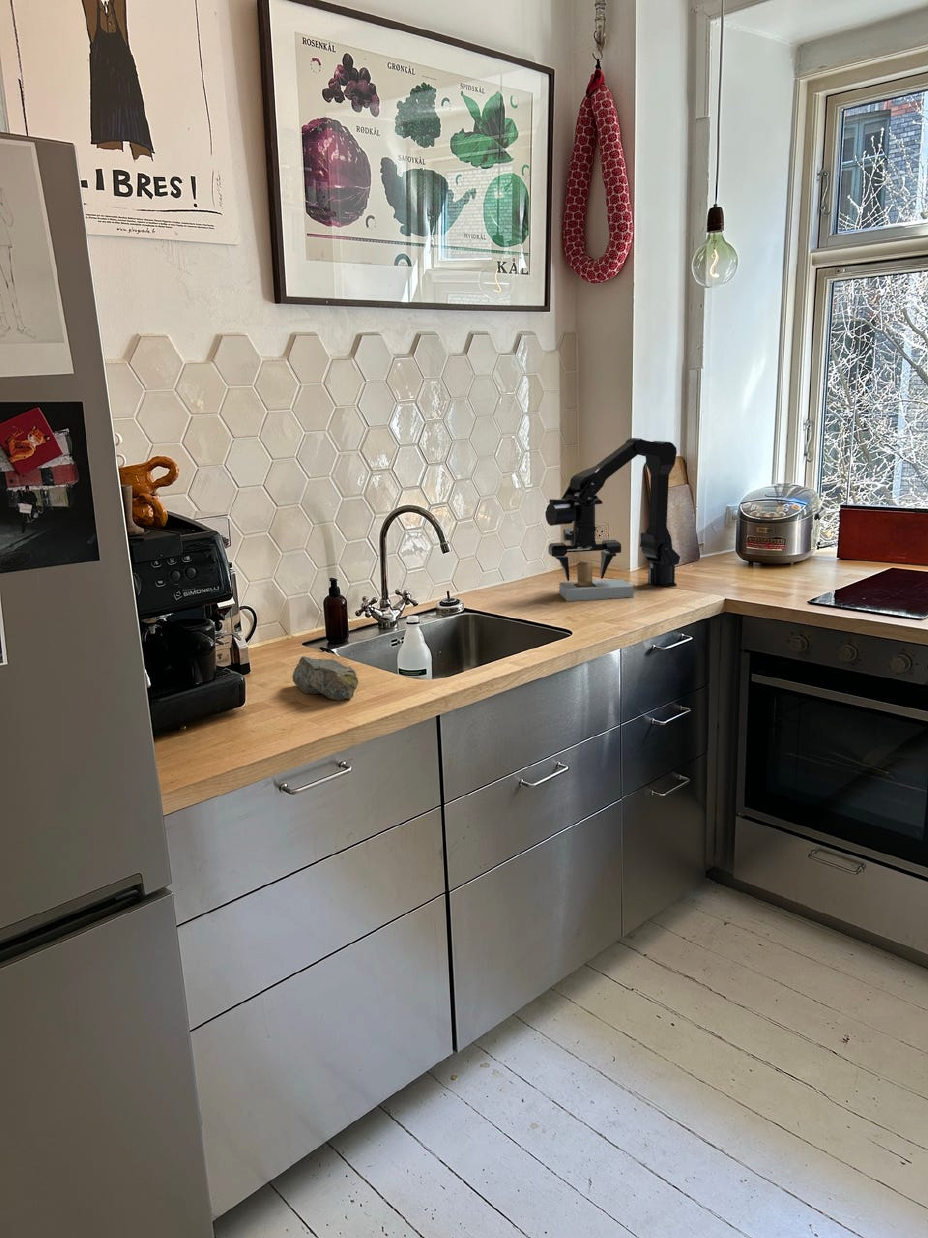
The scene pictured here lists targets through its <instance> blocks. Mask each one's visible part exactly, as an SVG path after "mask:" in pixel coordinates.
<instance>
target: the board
mask: <svg viewBox="0 0 928 1238" xmlns="http://www.w3.org/2000/svg"><path fill="white" fill-rule="evenodd" d="M577 584H578V581H566V582H565V581H563V582H559V585H558V586H559V587H558V588H559V590H558V591H559V593H558V594H560V596H561V597H562V598H563V599H564V600H565V601H566V602H577V601H579V602H580V601H593V600H594V601H595V600H609V598H613V599H626V598H625V597H629V598H634V585H632V584H631V583H630V582H628V580H626V579H624V578H614V579H598V580H597V579H595V580H592V584H593V586H592V587H581V588H578V586H577Z"/></svg>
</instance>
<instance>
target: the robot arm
mask: <svg viewBox="0 0 928 1238" xmlns="http://www.w3.org/2000/svg"><path fill="white" fill-rule="evenodd" d="M677 451H678V450H677V446H675V444H674V443H673V442H671V441H664V440H663V441H662V440H652V441H651V440H650V441H649V440H646V439H643V438H640V437H639V438H638V437H630V438H628V439H627V440H626V441H625V443H623V444H622V445H620V446H619V447H617V449H615V450H613V452H612V453H610V454H609V455H608V456H606V457H605V458H604V459H602V460H601V461H600V462H598V463H597V464H595V465H594V466H593V467H591V468H587V469H584V470H582V471H579V472H578V473H576V474H574V475H573V476H572V477H571V478H570V482H569V485H568V487H567V489H566V490H565V492H564V494H563V495H562V497H561V498H559V499H557V498H556V499H555V498H553V499H551V498H550V499H549V501H548V502H549V504H548V505H547V507H546V511H545V520H546V522H547V525H549V526H550V527H552V526H554V527H555V526H562V525H563V526H564V525H570V524H572V523H573V525H572V529H571V528H563V530H562V534H563V542H550V543H549V544H548V550H547V551H548V555H550V556H551V557H553V558H554V559H556V560H558V561H559V563H560V564H561V567H562V570H563V572H564V576H565V578H566V580H567V581H566V582H570V568H569V566H570V565H569V557H568V556H567V554H568V553H578V552H579V553H581V552H582V553H583V552H597V551H600V556H601V557H600V558H601V559H600V560H601V561H600V569H599V570H600V571H599V573H600V575H599V576H600V577H599V578H600V580H604V577H605V574H606V572H607V569H608V566H609V565H610V563H611V561H612V559H613V557H617V554H620V553H622V543H620V542H619V541H618V540H616V539H604V540H602V541H601V543H596V531H597V528H596V505H602V504H603V501H602V500H601V499H600V498H599V497H598V495H597V494H598V493H599V492H600V491H601V489H602V488H604V485H605V483H606V481H607V480H608V479H609V478H610V477H611V476H613V475H614V474H615V473H616V472H617V471H619V470H621V468H623V467H624V466H626V465H627V464H628V463H629V462H631V460H633V459H635V458H636V457H637V456H638V455H639V456H643V457H645V463H646V467H647V469H648V471H649V475H650V479H649V481H650V483H649V485H650V488H649V504H648V505H649V512H648V526H647V529H646V530H645V532H640V543H639V547H640V549H641V552H642V554H643V555H644V556H645V559H646V562H647V563H648V562H649V567H648V568H647V583H648V584H649V585H651V586H653V587H654V588H657V587H659V588H661V587H674V586H678V585H677V584H678V583H676V582H675V581H676V580H675V579H676V578H675V577H676V573H675V572H676V565H679V563H680V559H681V556H680V555H679V554H678V553H677V551H675V550H674V548H673V543H672V536H671V534H670V531H669V529H668V525H667V523H668V506H669V505H668V504H669V503H668V502H669V484H670V483H669V482H670V481H669V479H670V474H671V472H672V470H673V468H674V466H675V464H676V460H677V453H678V452H677ZM564 542H569V543H570V544H569V545H566V543H564Z"/></svg>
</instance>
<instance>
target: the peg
mask: <svg viewBox="0 0 928 1238" xmlns="http://www.w3.org/2000/svg"><path fill="white" fill-rule="evenodd" d="M576 566H577V568H576V569H577V571H576V573H577V577H576V578H577V582H578V584H577V586H578V588H581V587H592V586H593V584H592V581H593V562H591V561H580V562H577V565H576Z"/></svg>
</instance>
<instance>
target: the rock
mask: <svg viewBox="0 0 928 1238" xmlns="http://www.w3.org/2000/svg"><path fill="white" fill-rule="evenodd" d="M291 677H292V682H293V683H294V685H295V686H296V687H297V688H298V689H299V690H300V691H301V692H302V693H304V694H308V695H322V694H323V696H326V698H328V699H330V700H332V701H335V702H340V701H343V700H346V699H352V698H353V697H354V693H355V690H356V689H357V687H358V685H359V679H358V676H357V674H356V671H355V669H353V668H351V666H346V665H343V664H341V663H340V662H339V661H337V660H334V659H326V658H325V659H324V658H318V659H317V658H311V657H309V656H301V657H300V658H299V660H298V663H297V664H296V667H295V668H294V670H293V673H292V676H291Z"/></svg>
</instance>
